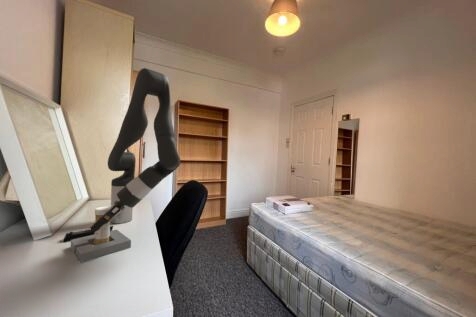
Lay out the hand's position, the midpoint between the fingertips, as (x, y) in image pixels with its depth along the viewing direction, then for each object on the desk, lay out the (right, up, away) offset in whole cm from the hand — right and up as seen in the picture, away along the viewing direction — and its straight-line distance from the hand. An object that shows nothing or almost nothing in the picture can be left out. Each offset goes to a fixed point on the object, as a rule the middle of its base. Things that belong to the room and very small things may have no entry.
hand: (97, 225), depth 68 cm
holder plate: (+1, -8, +1) cm, 8 cm away
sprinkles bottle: (+1, -8, +1) cm, 8 cm away
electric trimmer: (-10, -8, +9) cm, 16 cm away
